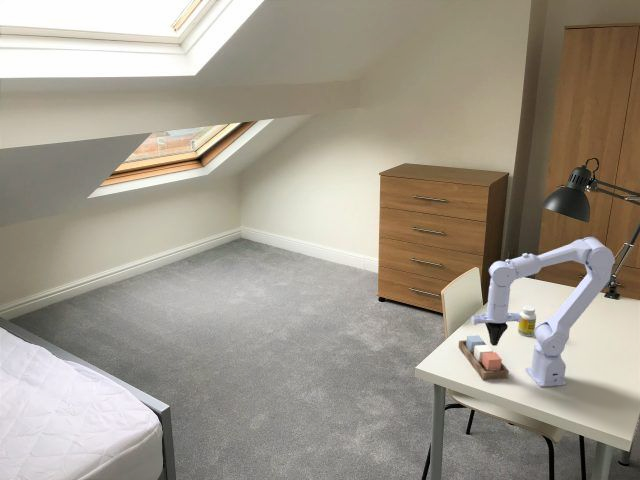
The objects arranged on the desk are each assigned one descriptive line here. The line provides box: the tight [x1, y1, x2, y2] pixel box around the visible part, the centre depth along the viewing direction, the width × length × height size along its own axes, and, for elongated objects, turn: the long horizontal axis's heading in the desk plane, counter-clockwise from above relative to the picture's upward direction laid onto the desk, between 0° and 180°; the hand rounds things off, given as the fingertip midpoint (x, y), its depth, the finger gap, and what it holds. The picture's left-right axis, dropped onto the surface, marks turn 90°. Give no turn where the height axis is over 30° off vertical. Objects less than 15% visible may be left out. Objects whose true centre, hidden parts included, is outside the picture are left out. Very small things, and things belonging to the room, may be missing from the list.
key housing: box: [458, 339, 510, 381], centre depth 166 cm, size 19×8×2 cm, turn 7°
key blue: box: [466, 335, 485, 350], centre depth 171 cm, size 4×4×4 cm
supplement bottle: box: [517, 305, 537, 337], centre depth 183 cm, size 5×5×10 cm
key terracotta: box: [482, 351, 503, 371], centre depth 159 cm, size 4×4×4 cm
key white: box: [474, 344, 493, 360], centre depth 166 cm, size 4×4×4 cm
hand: (493, 344), depth 158 cm, fingers closed
